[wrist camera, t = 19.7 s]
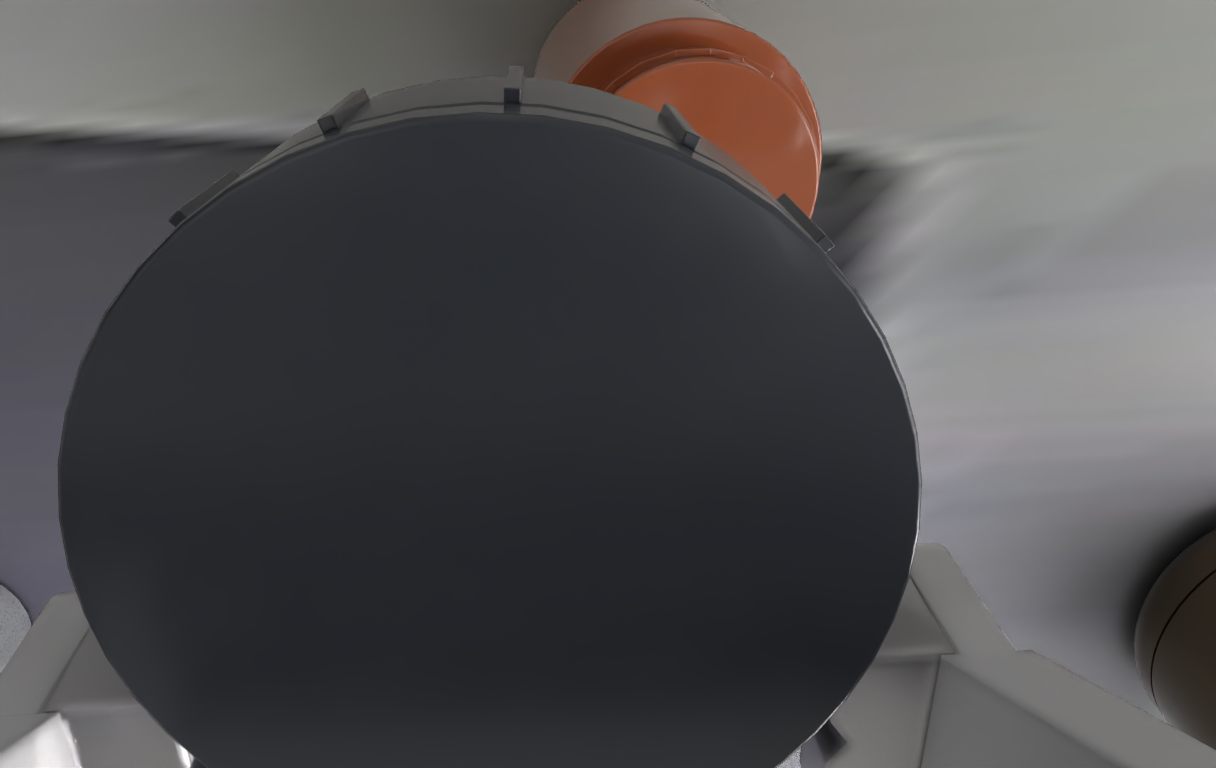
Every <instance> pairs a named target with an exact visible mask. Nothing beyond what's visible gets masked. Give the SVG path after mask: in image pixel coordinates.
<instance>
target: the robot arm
mask: <svg viewBox="0 0 1216 768" xmlns="http://www.w3.org/2000/svg"><path fill="white" fill-rule="evenodd" d="M800 764H801V767H802V768H1216V750H1214V749H1212V748H1211V747H1209V746H1207V745H1205V744H1203V743H1201V742H1200V741H1198V740H1196V739H1194V738H1192V737H1190V736H1189V735H1187V734H1185V733H1183V732H1181V731H1179V730H1178V729H1176V728H1174V727H1172V726H1170V725H1169V724H1167V723H1165V722H1163V721H1161V720H1159V719H1158V718H1156V717H1154V716H1152V715H1150V714H1148V713H1147V712H1145V711H1143V710H1141V709H1139V708H1137V707H1136V706H1134V705H1132V704H1130V703H1128V702H1126V701H1125V700H1123V699H1121V698H1119V697H1117V696H1115V695H1114V694H1112V693H1110V692H1108V691H1106V690H1104V689H1103V688H1101V687H1099V686H1097V685H1095V684H1093V683H1092V682H1090V681H1088V680H1086V679H1084V678H1082V677H1081V676H1079V675H1077V674H1075V673H1073V672H1071V671H1070V670H1068V669H1066V668H1064V667H1062V666H1060V665H1059V664H1057V663H1055V662H1053V661H1051V660H1049V659H1048V658H1046V657H1044V656H1042V655H1040V654H1038V653H1037V652H1035V651H1033V650H1019V651H1016V650H1015V648H1014V647H1013V645H1012V644H1011V642H1010V641H1009V639H1008V638H1007V637H1006V635H1005V634H1004V632H1003V631H1002V629H1001V628H1000V626H999V625H998V623H997V622H996V620H995V619H994V618H993V616H992V615H991V613H990V612H989V610H988V609H987V607H986V606H985V604H984V603H983V601H982V600H981V599H980V597H979V596H978V594H977V593H976V591H975V590H974V588H973V587H972V585H971V584H970V582H969V581H968V580H967V578H966V577H965V575H964V574H963V572H962V571H961V569H960V568H959V566H958V565H957V563H956V562H955V561H954V559H953V558H952V556H951V555H950V553H949V552H948V550H947V549H946V548H945V547H943V546H942V545H940V544H938V543H930V544H919V545H916V549H915V554H914V558H913V563H912V568H911V573H910V578H909V580H908V583H907V586H906V589H905V592H904V595H903V597H902V600H901V603H900V606H899V609H898V611H897V614H896V617H895V620H894V622H893V624H892V626H891V628H890V630H889V632H888V634H887V636H886V637H885V639H884V641H883V643H882V645H881V647H880V649H879V651H878V653H877V655H876V657H875V659H874V661H873V662H872V664H871V665H870V667H869V668H868V669H867V671H866V672H865V674H864V675H863V677H862V678H861V680H860V681H859V682H858V684H857V685H856V687H855V688H854V690H853V691H852V693H851V694H850V695H849V697H848V698H847V700H846V701H845V702H844V703H843V704H842V705H841V706H840V707H839V709H838V710H837V711H836V712H835V713H834V714H833V715H832V716H831V717H830V719H829V720H828V721H827V722H826V723H825V724H824V725H823V726H822V727H821V729H820V730H819V731H818V732H817V733H816V734H815V735H814V736H813V737H812V738H810V739H809V740H808V741H807V742H806V743H805V744H804V745H802V746H801V752H800ZM0 768H206V767H205V766H204V765H202V764H201V763H200V762H199V761H198V760H197V759H195V758H194V757H193V756H192V755H191V754H190V753H188V752H187V751H186V750H185V749H184V748H183V747H182V746H180V745H179V744H178V743H177V742H176V741H175V740H173V739H172V738H171V737H170V736H169V735H168V734H166V732H165V731H164V730H163V729H162V728H161V727H160V726H159V725H158V724H157V723H156V721H155V720H154V719H153V718H152V717H151V716H150V715H149V714H148V713H147V711H146V710H145V709H144V708H143V707H142V706H141V705H140V704H139V703H138V702H137V700H136V699H135V698H134V697H133V696H132V694H131V693H130V691H129V690H128V688H127V687H126V686H125V684H124V683H123V681H122V680H121V678H120V677H119V675H118V674H117V673H116V671H115V670H114V668H113V667H112V665H111V664H110V663H109V661H108V660H107V658H106V657H105V655H104V653H103V651H102V649H101V647H100V645H99V643H98V641H97V639H96V637H95V635H94V633H93V631H92V629H91V627H90V625H89V623H88V621H87V619H86V617H85V615H84V613H83V610H82V607H81V605H80V602H79V599H78V596H77V593H76V591H72V592H62V593H60V594H58V595H56V596H54V597H52V598H51V599H50V600H49V601H48V602H47V604H46V605H45V607H44V608H43V610H42V611H41V613H40V614H39V616H38V617H37V619H36V620H35V622H34V624H33V625H32V627H31V628H30V630H29V631H28V633H27V634H26V636H25V637H24V639H23V640H22V642H21V644H20V645H19V647H18V648H17V650H16V651H15V653H14V654H13V656H12V657H11V659H10V660H9V662H8V663H7V665H6V667H5V668H4V670H3V671H2V673H1V674H0Z"/></svg>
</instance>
